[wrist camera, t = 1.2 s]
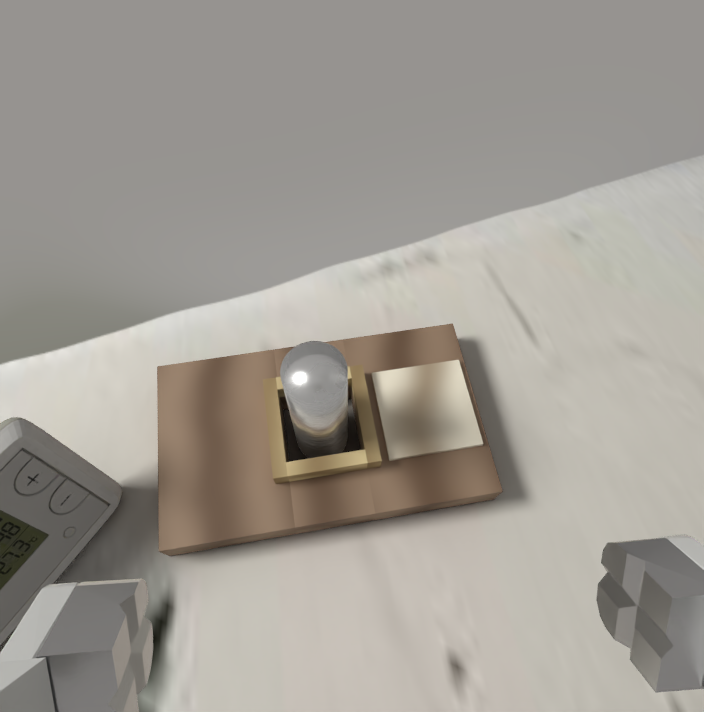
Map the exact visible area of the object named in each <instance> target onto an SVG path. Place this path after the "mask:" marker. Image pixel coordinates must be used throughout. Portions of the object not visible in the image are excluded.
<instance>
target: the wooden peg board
mask: <svg viewBox="0 0 704 712" xmlns="http://www.w3.org/2000/svg"><path fill="white" fill-rule="evenodd" d="M325 343H328V344H330V345H332V346H334V347H335V348H337V349H338V350H339V351H340V352H341V353H342V355H343V356H344V358H345V360H346V363H347V368H348V399H351V400H352V405H353V411H354V416H355V422H356V427H357V433H358V438H359V443H360V449H361V450H358V451H351V452H345V453H339V454H333V455H327V456H321V457H315V458H309V459H303V460H296V461H290V462H289V455H288V447H287V438H286V430H285V422H284V414H283V409H289V408H288V404H287V400H286V396H285V393H284V389H283V385H282V381H281V376H280V368H281V364H282V361H283V359H284V357H285V356H286V355H287V353H288V352H289V351H290V350H291V349H293V348H294V347H289V348H282V349H275V350H268V351H261V352H255V353H248V354H241V355H234V356H227V357H220V358H213V359H206V360H200V361H193V362H186V363H179V364H172V365H165V366H158V367H157V382H158V516H159V552H161V553H164V554H166V555H168V556H173V555H179V554H185V553H190V552H196V551H202V550H208V549H213V548H219V547H225V546H230V545H236V544H242V543H248V542H253V541H259V540H265V539H270V538H276V537H282V536H287V535H293V534H299V533H305V532H310V531H316V530H322V529H327V528H333V527H339V526H345V525H350V524H356V523H362V522H367V521H373V520H379V519H385V518H390V517H396V516H402V515H407V514H413V513H419V512H425V511H430V510H436V509H442V508H447V507H453V506H459V505H465V504H470V503H476V502H482V501H487V500H493V499H495V498H496V497H497V496H498V495H499V494H501V493H502V492H503V491H502V487H501V484H500V480H499V477H498V474H497V470H496V467H495V464H494V460H493V457H492V454H491V450H490V447H489V444H488V440H487V437H486V433H485V430H484V427H483V423H482V420H481V417H480V413H479V410H478V407H477V403H476V400H475V396H474V393H473V390H472V386H471V383H470V380H469V376H468V373H467V370H466V366H465V363H464V360H463V356H462V353H461V349H460V346H459V343H458V339H457V336H456V333H455V329H454V326H453V324H447V325H440V326H433V327H426V328H419V329H413V330H406V331H399V332H392V333H385V334H378V335H371V336H364V337H358V338H351V339H344V340H337V341H330V342H325Z"/></svg>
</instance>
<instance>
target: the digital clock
mask: <svg viewBox="0 0 704 712" xmlns="http://www.w3.org/2000/svg"><path fill="white" fill-rule="evenodd" d="M121 495H122V488H121V486H120V485H119V484H118V483H117V482H116V481H114V480H113V479H112V478H110V477H109V476H107V475H106V474H105V473H103V472H102V471H100V470H99V469H97V468H96V467H95V466H93V465H92V464H90V463H89V462H88V461H86V460H85V459H83V458H82V457H80V456H79V455H78V454H76V453H75V452H73V451H72V450H71V449H69V448H68V447H66V446H65V445H63V444H62V443H61V442H59V441H58V440H56V439H55V438H54V437H52V436H51V435H49V434H48V433H46V432H45V431H44V430H42V429H41V428H39V427H37V426H36V425H34V424H33V423H31V422H29V421H27V420H25V419H23V418H17V417H16V418H10V419H7V420H5V421H3V422H2V423H0V645H1V644H2V643H3V642H4V641H5V639H6V638H7V637H8V636H9V635H10V634H11V632H12V631H13V630H14V629H15V628H16V627H17V625H18V624H19V623H20V622H21V620H22V618H23V617H24V615H25V614H26V612H27V611H28V609H29V608H30V606H31V604H32V603H33V601H34V600H35V598H36V597H37V595H38V594H39V592H40V590H41V589H42V588H44V587H45V586H47V585H49V584H53V583H54V582H55V581H56V580H57V578H58V577H59V576H60V575H61V574H62V573H63V571H64V570H65V569H66V568H67V567H68V566H69V564H70V563H71V562H72V561H73V560H74V559H75V557H76V556H77V555H78V554H79V553H80V552H81V550H82V549H83V548H84V547H85V546H86V544H87V543H88V542H89V541H90V540H91V539H92V537H93V536H94V535H95V534H96V533H97V531H98V530H99V529H100V528H101V527H102V526H103V524H104V523H105V522H106V521H107V519H108V518H109V517H110V516H111V515H112V513H113V512H114V511H115V509H116V508H117V506H118V505H119V502H120V499H121Z"/></svg>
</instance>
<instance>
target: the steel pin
mask: <svg viewBox="0 0 704 712" xmlns="http://www.w3.org/2000/svg"><path fill="white" fill-rule="evenodd" d="M280 376H281V381H282V385H283V389H284V393H285V396H286V400H287V404H288V408H289V412H290V416H291V420H292V424H293V427H294V431H295V435H296V439H297V443H298V446H299V448H300V450H301V451H302V453H303V454H304V455H305V456H306V457H308V458H315V457H321V456H327V455H333V454H339V453H342V451H343V450H344V448H345V446H346V444H347V439H348V368H347V363H346V360H345V358H344V356H343V355H342V353H341V352H340V351H339V350H338V349H337V348H335V347H334V346H332V345H330V344H328V343H325V342H320V341H309V342H305V343H302V344H299V345H297V346H296V347H294V348H293V349H291V350H290V351H289V352H288V353H287V355H286V356H285V357H284V359H283V361H282V364H281V368H280Z"/></svg>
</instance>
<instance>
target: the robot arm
mask: <svg viewBox="0 0 704 712" xmlns="http://www.w3.org/2000/svg"><path fill="white" fill-rule="evenodd" d="M601 563H602V565H603V566H604V568H605V569H606V571H607V574H606V575H605V576H604V577H603V578H602V580H601V581H600V582H599V583H598V591H597V604H598V608H599V613H600V617H601V619H602V621H603V623H604V625H605V627H606V629H607V630H608V632H609V633H610V634H611V636H612V637H613V638H614V639H615V640H616V641H618V642H620V643H622V644H623V645H625V646H627V647H629V648H630V660H631V662H632V663H633V664H634V666H635V667H636V668H637V669H638V671H639V672H640V673H641V674H642V676H643V677H644V678H645V680H646V681H647V682H648V683H649V685H650V686H651V687H652V689H653V690H654V691H655V692H667V691H679V690H692V689H704V545H703V544H701V543H700V542H699V541H698V540H696V539H695V538H693V537H691V536H688V535H676V536H667V537H659V538H656V539H645V540H633V541H622V542H610V543H607V544H606V546H605V548H604V549H603V553H602V560H601ZM148 601H149V598H148V591H147V584H146V582H145V581H144V579H143V578H142V579H124V580H107V581H89V582H81V583H78V582H74V583H61V584H49V585H47V586H45V587H44V588H42V589H41V590H40V592H39V594H38V595H37V597H36V598H35V600H34V601H33V603H32V604H31V606H30V608H29V609H28V611H27V612H26V614H25V615H24V617H23V618H22V620H21V622H20V623H19V625H18V626H17V628H16V629H15V631H14V632H13V634H12V636H11V637H10V639H9V640H8V642H7V643H6V645H5V646H4V648H3V650H2V651H1V653H0V712H139V709H138V701H137V695H138V694H139V693H140V692H141V691H142V690H143V689H144V688H145V687H146V685H147V681H148V677H149V674H150V669H151V661H152V654H153V632H152V623H151V622H150V621H149V620H148V619H147V618H146V617H145V616H144V613H145V610H146V607H147V604H148Z"/></svg>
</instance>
